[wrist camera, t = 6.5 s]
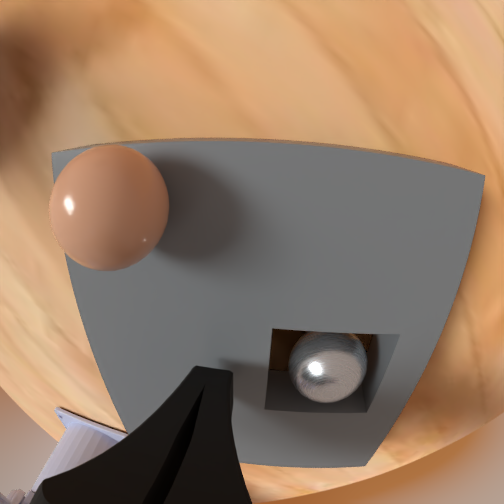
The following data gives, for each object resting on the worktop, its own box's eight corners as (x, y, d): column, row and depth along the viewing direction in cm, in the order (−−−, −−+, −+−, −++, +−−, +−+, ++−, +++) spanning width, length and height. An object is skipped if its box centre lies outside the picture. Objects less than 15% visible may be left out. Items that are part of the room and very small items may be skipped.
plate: (361, 434, 15) (364, 466, 13) (144, 410, 17) (130, 438, 15) (449, 163, 9) (485, 175, 7) (91, 145, 10) (51, 153, 8)
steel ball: (352, 365, 13) (356, 419, 10) (287, 358, 14) (279, 413, 11) (371, 313, 12) (383, 369, 9) (296, 305, 12) (291, 361, 9)
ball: (188, 246, 9) (142, 304, 6) (100, 240, 9) (39, 285, 6) (185, 137, 8) (126, 146, 5) (91, 144, 8) (17, 160, 5)
